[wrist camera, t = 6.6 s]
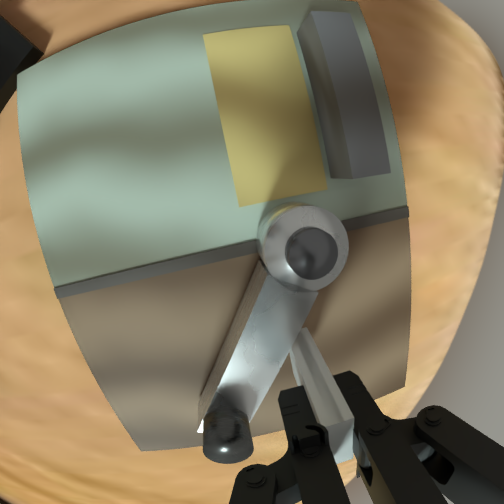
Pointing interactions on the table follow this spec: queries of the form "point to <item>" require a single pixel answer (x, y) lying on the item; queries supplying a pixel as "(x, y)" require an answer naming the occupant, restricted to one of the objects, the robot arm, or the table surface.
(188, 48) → the door board
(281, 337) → the bar
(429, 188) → the table surface
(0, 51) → the figurine
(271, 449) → the table surface
